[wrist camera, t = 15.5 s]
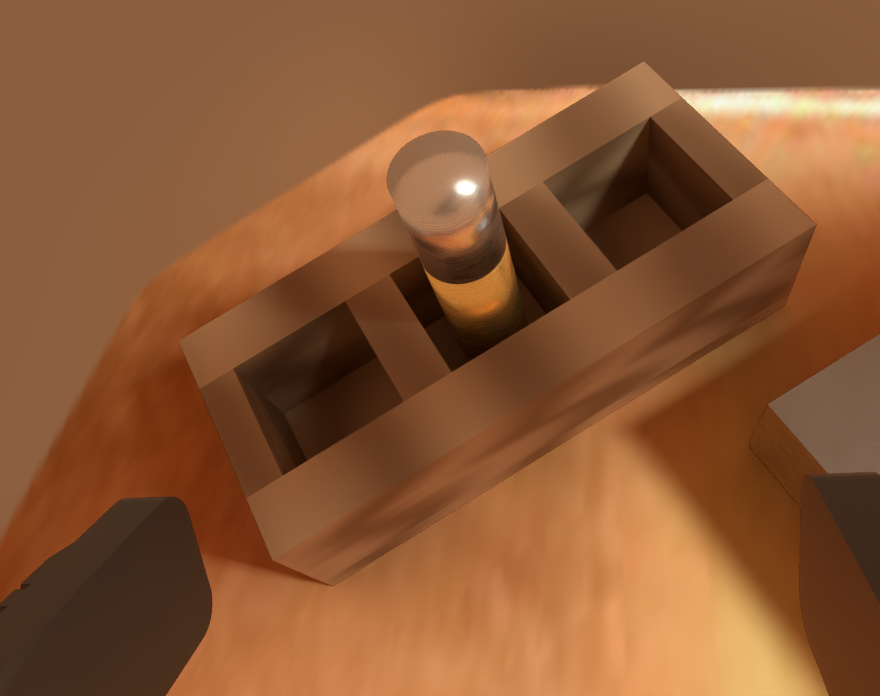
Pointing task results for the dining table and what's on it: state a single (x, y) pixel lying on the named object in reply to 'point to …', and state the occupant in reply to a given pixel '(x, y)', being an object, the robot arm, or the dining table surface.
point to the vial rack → (511, 361)
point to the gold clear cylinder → (458, 236)
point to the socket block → (825, 422)
